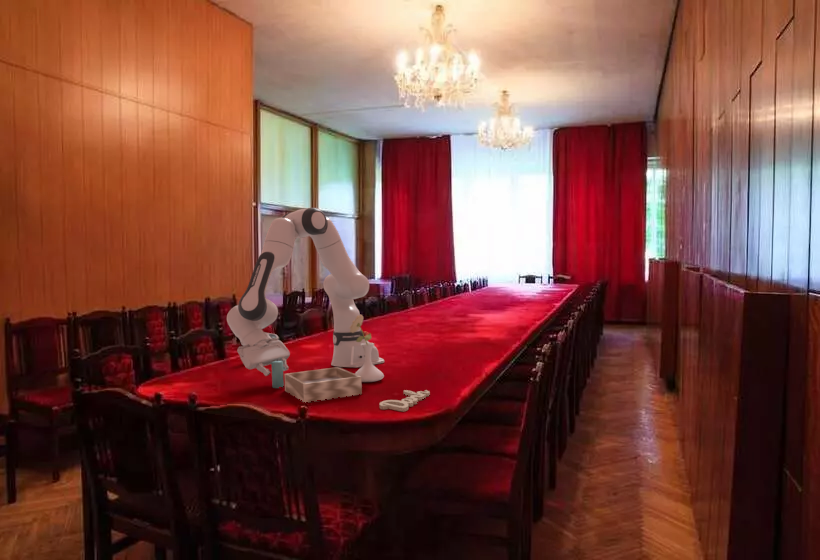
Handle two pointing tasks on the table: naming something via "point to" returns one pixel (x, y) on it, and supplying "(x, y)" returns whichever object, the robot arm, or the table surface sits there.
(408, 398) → the decorative sign
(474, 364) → the table surface
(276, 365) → the peg
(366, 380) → the flower in vase
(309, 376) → the bore box
